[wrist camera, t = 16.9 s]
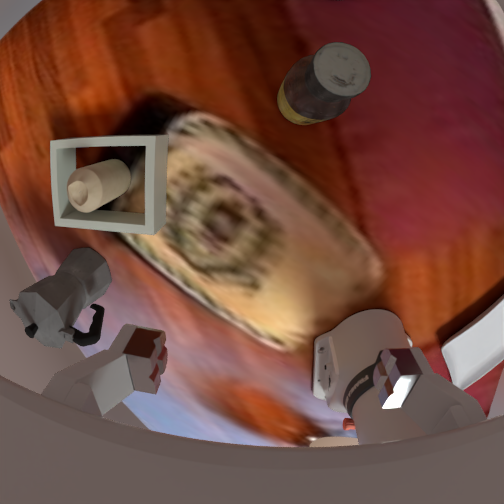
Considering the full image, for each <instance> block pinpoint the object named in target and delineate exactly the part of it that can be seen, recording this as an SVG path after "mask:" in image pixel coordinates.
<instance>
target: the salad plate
mask: <svg viewBox="0 0 504 504" xmlns="http://www.w3.org/2000/svg"><path fill="white" fill-rule="evenodd" d="M441 351H442V354H443V357H444V359H445V361H446V364H447V366H448V369H449V372H450V375H451V378H452V383H453V384H454V385H455V386H457V387H458V388H460V389H461V390H464V389H465V388H467V387H468V386H470V385H471V384H473V383H474V382H475V381H477V380H478V379H480V378H481V377H482V376H484V375H485V374H486V373H488V372H489V371H490V370H491V369H493V368H494V367H495V366H496V365H498V364H499V363H500V362H501V361H502V360H504V294H503V295H502V296H501V297H500V298H499V299H498V300H497V301H496V302H495V303H494V304H492V305H491V306H490V307H489V308H488V309H487V310H485V311H484V312H483V313H482V314H481V315H479V316H478V317H477V318H476V319H474V320H473V321H472V322H471V323H469V324H468V325H467V326H465V327H464V328H463V329H461V330H460V331H458V332H457V333H456V334H454V335H453V336H451V337H450V338H449V339H448V340H446V341H445V343H444V344H443V346H442V348H441Z"/></svg>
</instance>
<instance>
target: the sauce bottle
mask: <svg viewBox="0 0 504 504" xmlns="http://www.w3.org/2000/svg"><path fill="white" fill-rule="evenodd" d="M370 78H371V71H370V66H369V63H368V61H367V59H366V58H365V56H364V55H363V54H362V53H361V51H359V50H358V49H357V48H355V47H353V46H352V45H349V44H345V43H342V42H340V43H339V42H334V43H329V44H326V45H324V46H323V47H321V48H320V49H319V50H318V51H317V52H316V54H315V55H310V56H307V57H304V58H302V59H300V60H299V61H297V62H296V63H295V64H294V65H293V66H292V68H291V69H290V70H289V71H288V73H287V75H286V77H285V79H284V81H283V83H282V85H281V87H280V89H279V92H278V95H277V103H278V107H279V109H280V112H281V113H282V115H283V116H284V117H285V118H286V119H287V120H289V121H291V122H293V123H295V124H299V125H309V124H313V123H317V122H322V121H325V120H329V119H332V118H335V117H337V116H339V115H341V114H342V113H343V112H344V111H345V110H346V109H347V108H348V106H349V104H350V101H351V98H353V97H355V96H357V95H359V94H360V93H362V92H363V91H364V90H365V89H366V88H367V86H368V84H369V82H370Z"/></svg>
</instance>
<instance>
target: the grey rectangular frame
mask: <svg viewBox="0 0 504 504" xmlns="http://www.w3.org/2000/svg"><path fill="white" fill-rule="evenodd" d="M168 137H169V135H109V136H90V137H75V138H66V139H59V140H53V141H50V160H51V186H52V200H53V212H54V221H55V226H62V227H73V228H84V229H94V230H105V231H116V232H126V233H137V234H147V235H155V234H156V233H157V232H158V231H159V230H160V229H161V228H162V227H163V226H164V225H165V224H166V182H167V155H168ZM97 146H146V159H145V213H133V212H119V211H104V210H93V211H91V212H88V213H85V212H81V211H78V210H77V209H76V208H74V207H73V205H72V204H71V203H70V201H69V199H68V195H67V182H68V179H69V177H70V175H71V174H72V173H73V172H74V171H75V170H76V147H97Z"/></svg>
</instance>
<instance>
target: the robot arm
mask: <svg viewBox="0 0 504 504" xmlns="http://www.w3.org/2000/svg"><path fill="white" fill-rule="evenodd" d="M165 341H166V334H165V332H164V331H162V330H157V329H152V328H147V327H142V326H136V325H131V324H125V325H124V326H123V327H122V329H121V330H120V332H119V334H118V335H117V337H116V338H115V340H114V342H113V343H112V345H111V346H110V348H109V350H103V351H101V352H99V353H96V354H94V355H92V356H90V357H88V358H86V359H84V360H82V361H80V362H78V363H76V364H74V365H72V366H70V367H67V368H65V369H63V370H61V371H59V372H57V373H55V374H54V376H53V377H52V379H51V380H50V382H49V383H48V385H47V386H46V388H45V389H44V391H43V392H42V394H41V395H40V394H38V393H36V392H33V391H31V390H29V389H27V388H25V387H23V386H20V385H18V384H16V383H14V382H12V381H10V380H8V379H6V378H4V377H2V376H1V375H0V504H504V414H503V415H500V416H497V417H494V418H491V419H487V418H486V416H485V414H484V412H483V410H482V408H481V406H480V405H479V403H478V401H477V400H476V399H475V398H473V397H472V396H470V395H469V394H467V393H466V392H464V391H463V390H461V389H460V388H458V387H457V386H455V385H454V384H452V383H451V382H449V381H448V380H446V379H445V378H443V377H442V376H440V375H439V374H437V373H436V374H434V372H433V370H432V369H431V367H430V365H429V363H428V361H427V360H426V358H425V356H424V354H423V353H422V351H421V349H420V348H418V347H413V348H411V347H412V340H411V338H410V337H409V336H408V335H407V334H406V333H405V331H404V328H403V325H402V322H401V320H400V319H399V318H398V317H397V316H396V315H395V314H393V313H392V312H389V311H386V310H381V309H372V310H366V311H362V312H359V313H356V314H354V315H352V316H350V317H348V318H347V319H345V320H344V321H343V322H341V323H340V324H339V325H338V326H337V327H336V328H334V329H333V330H332V331H330V332H327V333H325V334H322V335H320V336H319V337H317V338H316V339H315V342H314V368H313V395H314V396H315V397H317V398H319V399H322V400H326V401H327V405H328V407H329V408H330V409H331V410H334V411H336V412H341V413H348V414H349V416H350V417H351V418H352V419H351V418H345V419H344V420H343V429H344V430H349V429H356V433H357V438H358V442H359V445H353V446H337V447H268V446H252V445H240V444H230V443H221V442H213V441H206V440H199V439H193V438H187V437H181V436H175V435H170V434H165V433H160V432H156V431H151V430H147V429H143V428H139V427H134V426H131V425H127V424H123V423H120V422H116V421H113V420H109V419H106V418H103V416H102V415H104V414H105V413H106V412H107V411H109V410H110V409H111V408H113V407H114V406H115V405H117V404H118V403H119V402H121V401H122V400H123V399H125V398H126V397H127V396H129V395H130V394H131V393H133V392H134V390H136V391H141V392H146V393H151V394H156V393H157V390H158V388H159V385H160V382H161V379H160V375H161V374H163V373H164V371H165V368H166V364H167V348H166V347H165V346H164V344H165ZM321 347H323V348H321Z"/></svg>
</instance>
